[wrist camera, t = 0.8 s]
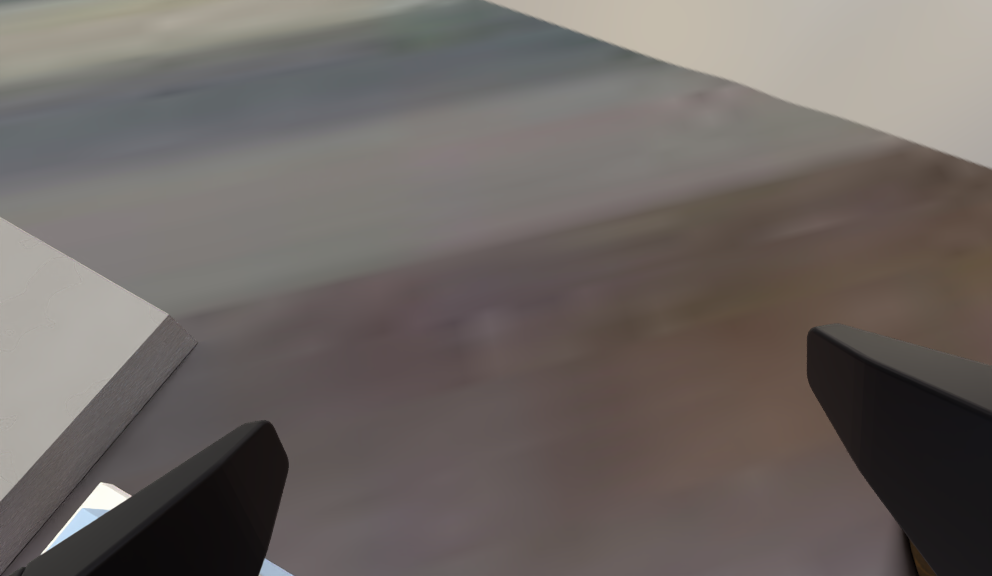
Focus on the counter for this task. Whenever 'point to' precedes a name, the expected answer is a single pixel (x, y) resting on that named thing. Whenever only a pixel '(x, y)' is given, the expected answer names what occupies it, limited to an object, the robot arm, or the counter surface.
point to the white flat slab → (67, 376)
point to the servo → (106, 500)
